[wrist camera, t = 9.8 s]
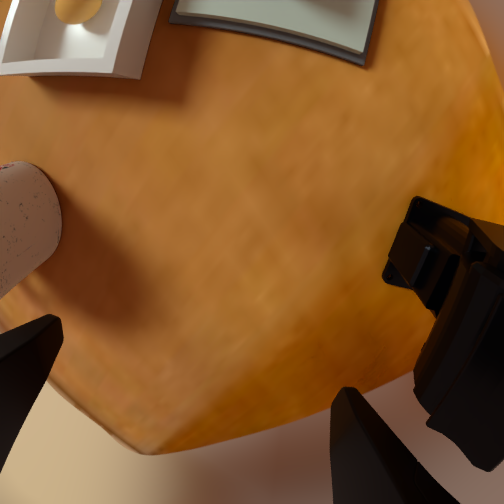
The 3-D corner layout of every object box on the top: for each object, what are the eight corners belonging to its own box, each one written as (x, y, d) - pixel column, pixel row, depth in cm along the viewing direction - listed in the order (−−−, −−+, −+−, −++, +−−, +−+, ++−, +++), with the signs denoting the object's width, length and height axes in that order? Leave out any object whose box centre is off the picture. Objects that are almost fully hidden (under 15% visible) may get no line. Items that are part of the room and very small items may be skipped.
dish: (181, -50, 13) (165, -78, 9) (140, 79, 17) (112, 73, 13) (63, -38, 12) (34, -53, 8) (27, 76, 16) (-8, 75, 13)
